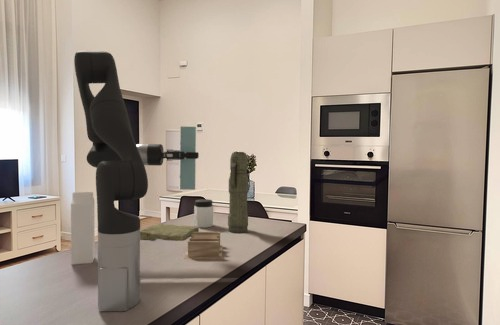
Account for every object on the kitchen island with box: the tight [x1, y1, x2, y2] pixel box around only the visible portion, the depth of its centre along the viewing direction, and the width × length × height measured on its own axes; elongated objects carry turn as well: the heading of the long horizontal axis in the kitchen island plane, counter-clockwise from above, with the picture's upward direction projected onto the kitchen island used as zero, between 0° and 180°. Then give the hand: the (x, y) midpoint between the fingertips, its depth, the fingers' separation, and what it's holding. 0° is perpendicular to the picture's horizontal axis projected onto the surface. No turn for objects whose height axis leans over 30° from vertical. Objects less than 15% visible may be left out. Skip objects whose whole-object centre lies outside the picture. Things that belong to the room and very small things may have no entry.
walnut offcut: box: [193, 236, 217, 238], centre depth 118 cm, size 2×8×5 cm, turn 93°
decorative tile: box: [140, 223, 200, 241], centre depth 142 cm, size 19×20×4 cm
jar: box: [193, 198, 214, 229], centre depth 160 cm, size 9×8×12 cm
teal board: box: [179, 125, 197, 191], centre depth 120 cm, size 2×5×22 cm, turn 93°
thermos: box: [227, 151, 249, 234], centre depth 151 cm, size 9×12×35 cm
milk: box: [70, 191, 96, 266], centre depth 108 cm, size 6×6×22 cm
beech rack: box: [184, 231, 224, 260], centre depth 118 cm, size 16×12×6 cm
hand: (197, 155), depth 120 cm, fingers closed on teal board, 2 cm apart
